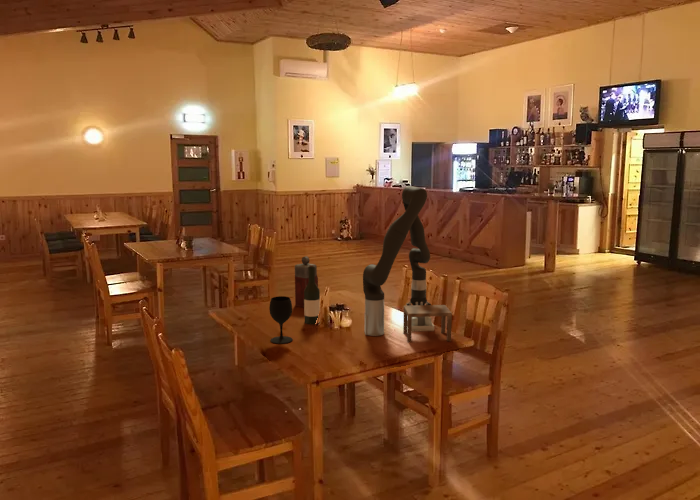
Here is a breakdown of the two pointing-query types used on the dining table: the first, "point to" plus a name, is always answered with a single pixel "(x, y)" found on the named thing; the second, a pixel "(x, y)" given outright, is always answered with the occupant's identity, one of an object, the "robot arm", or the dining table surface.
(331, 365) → the dining table surface
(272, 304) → the wine glass
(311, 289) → the wine bottle
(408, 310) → the counter shelf
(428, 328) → the tray
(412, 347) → the dining table surface
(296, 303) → the pepper mill
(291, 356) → the dining table surface
